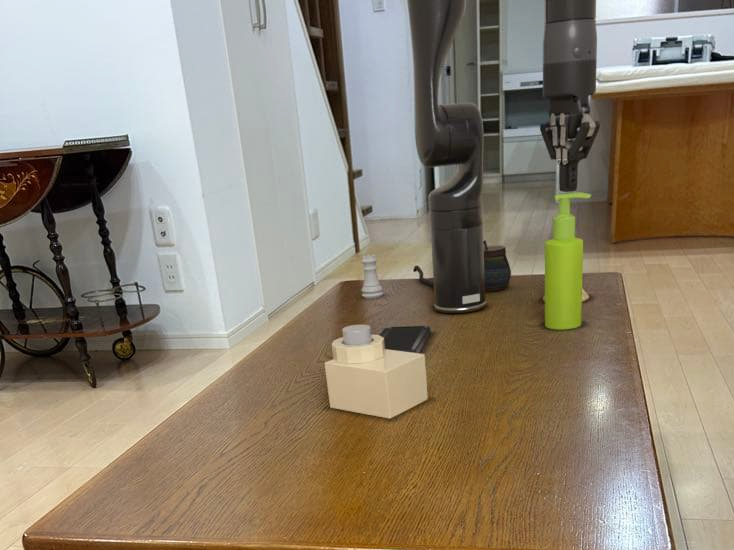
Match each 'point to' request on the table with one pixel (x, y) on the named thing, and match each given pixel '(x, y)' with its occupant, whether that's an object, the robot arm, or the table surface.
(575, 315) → the soap dispenser
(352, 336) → the grey push button
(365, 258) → the rook chess piece
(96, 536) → the table surface
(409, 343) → the phone
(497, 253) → the mate gourd
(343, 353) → the push button station
